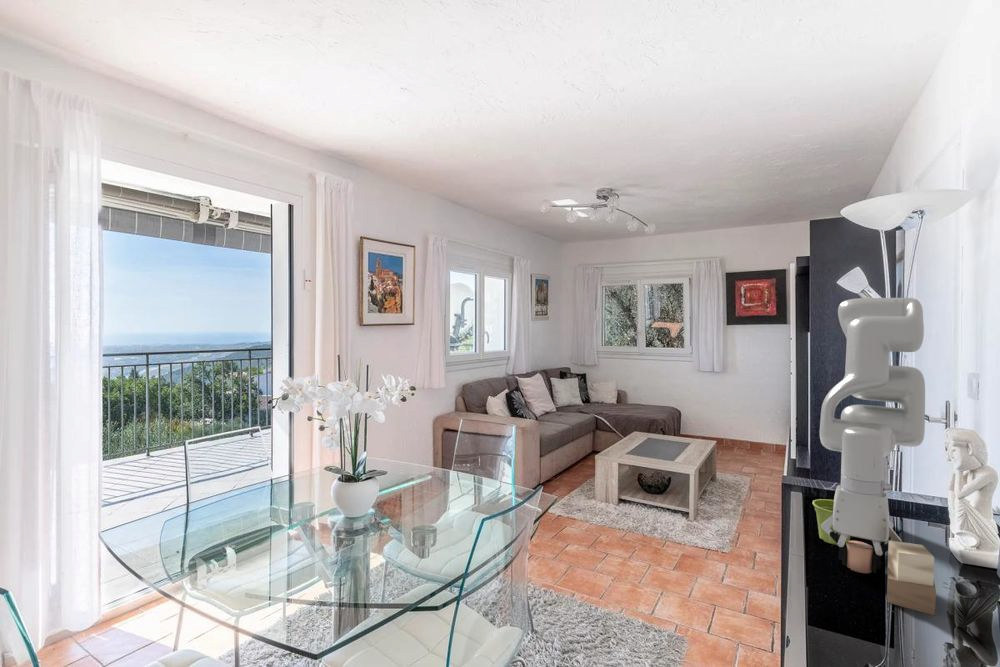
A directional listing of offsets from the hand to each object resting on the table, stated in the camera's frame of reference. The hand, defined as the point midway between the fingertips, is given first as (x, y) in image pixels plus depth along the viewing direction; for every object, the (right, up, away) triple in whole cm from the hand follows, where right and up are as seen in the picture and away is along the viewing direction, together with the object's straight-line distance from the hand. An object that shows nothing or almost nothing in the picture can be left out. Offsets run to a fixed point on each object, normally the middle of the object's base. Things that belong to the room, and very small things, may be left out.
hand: (858, 565), depth 112 cm
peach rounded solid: (0, 0, 0) cm, 0 cm away
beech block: (+1, +4, -13) cm, 13 cm away
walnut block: (+1, -1, -13) cm, 13 cm away
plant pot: (+3, 0, +13) cm, 14 cm away
